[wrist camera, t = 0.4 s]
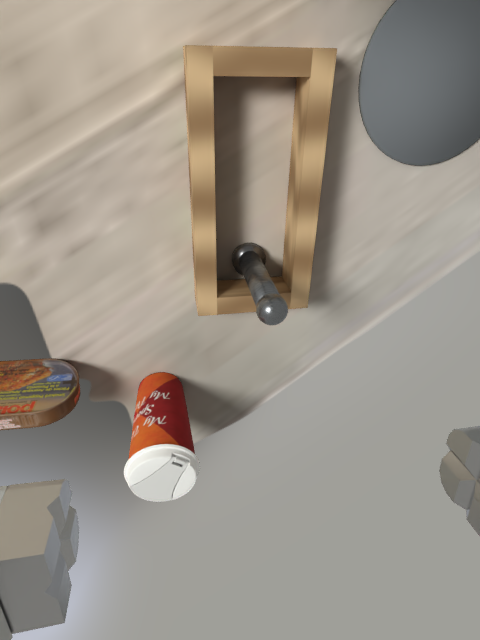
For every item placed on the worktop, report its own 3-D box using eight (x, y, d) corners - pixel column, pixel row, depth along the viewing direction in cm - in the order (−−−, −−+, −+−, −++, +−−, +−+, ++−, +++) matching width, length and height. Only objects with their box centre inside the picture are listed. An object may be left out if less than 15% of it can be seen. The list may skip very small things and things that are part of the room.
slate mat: (375, -38, 35) (377, -39, 34) (546, -28, 37) (550, -29, 37) (346, 166, 43) (348, 167, 43) (487, 162, 45) (490, 163, 45)
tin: (83, 356, 50) (71, 406, 43) (86, 377, 51) (76, 428, 44) (-59, 363, 47) (-97, 417, 40) (-51, 384, 49) (-86, 440, 42)
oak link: (183, 46, 35) (186, 45, 32) (320, 48, 37) (337, 48, 34) (195, 297, 48) (198, 316, 45) (297, 290, 50) (307, 307, 46)
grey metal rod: (232, 243, 45) (255, 300, 35) (264, 241, 46) (298, 297, 35) (231, 274, 47) (254, 336, 37) (263, 272, 48) (294, 333, 37)
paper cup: (150, 355, 51) (150, 444, 39) (202, 380, 55) (215, 469, 43) (117, 398, 54) (107, 494, 42) (169, 419, 57) (173, 513, 45)
